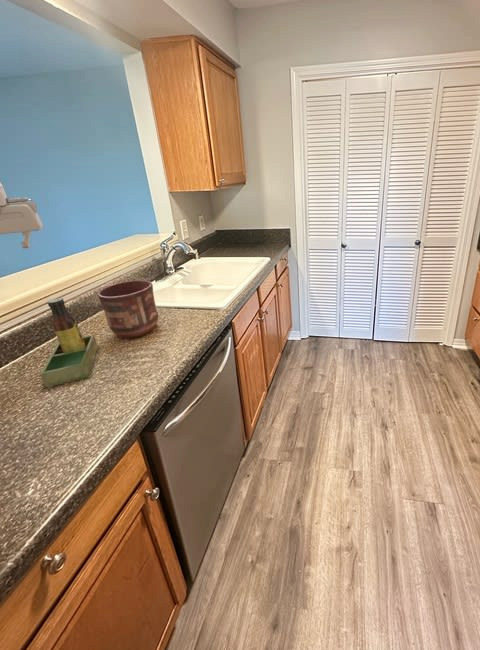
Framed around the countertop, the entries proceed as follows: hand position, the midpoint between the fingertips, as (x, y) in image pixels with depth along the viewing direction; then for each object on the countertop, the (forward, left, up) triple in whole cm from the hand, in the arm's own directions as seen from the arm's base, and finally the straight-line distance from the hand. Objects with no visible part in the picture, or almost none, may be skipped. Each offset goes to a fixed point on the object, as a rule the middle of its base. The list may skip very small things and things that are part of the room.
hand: (7, 249), depth 93 cm
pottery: (+26, +8, -37) cm, 46 cm away
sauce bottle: (+8, -3, -36) cm, 37 cm away
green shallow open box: (+8, -8, -37) cm, 39 cm away
